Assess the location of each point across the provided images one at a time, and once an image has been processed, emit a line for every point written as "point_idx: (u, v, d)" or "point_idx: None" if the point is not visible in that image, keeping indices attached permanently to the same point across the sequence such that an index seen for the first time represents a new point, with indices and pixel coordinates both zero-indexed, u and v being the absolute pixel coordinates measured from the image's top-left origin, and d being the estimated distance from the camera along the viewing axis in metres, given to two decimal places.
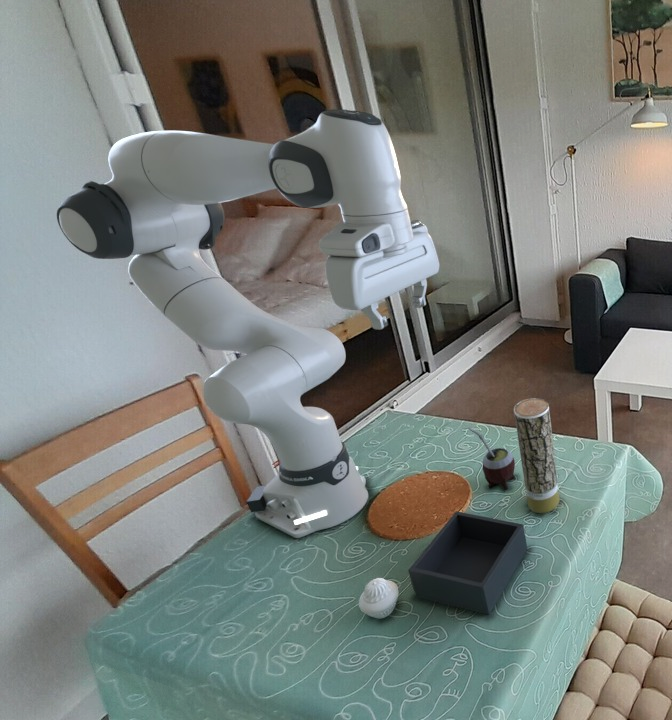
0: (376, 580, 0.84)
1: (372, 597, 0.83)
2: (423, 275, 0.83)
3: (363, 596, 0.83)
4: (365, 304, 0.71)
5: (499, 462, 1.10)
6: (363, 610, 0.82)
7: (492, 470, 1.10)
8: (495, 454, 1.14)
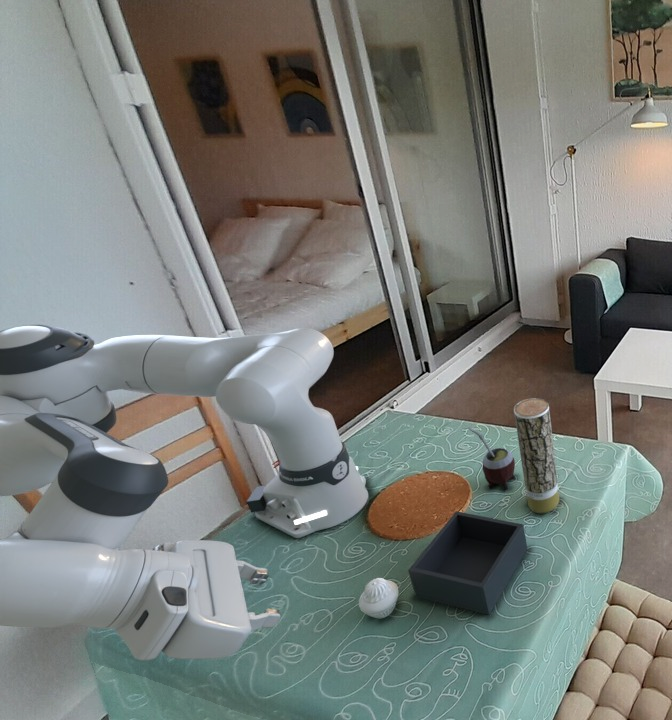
0: (376, 580, 0.84)
1: (372, 597, 0.83)
2: (232, 560, 0.73)
3: (363, 596, 0.83)
4: (247, 622, 0.64)
5: (499, 462, 1.10)
6: (363, 610, 0.82)
7: (492, 470, 1.10)
8: (495, 454, 1.14)
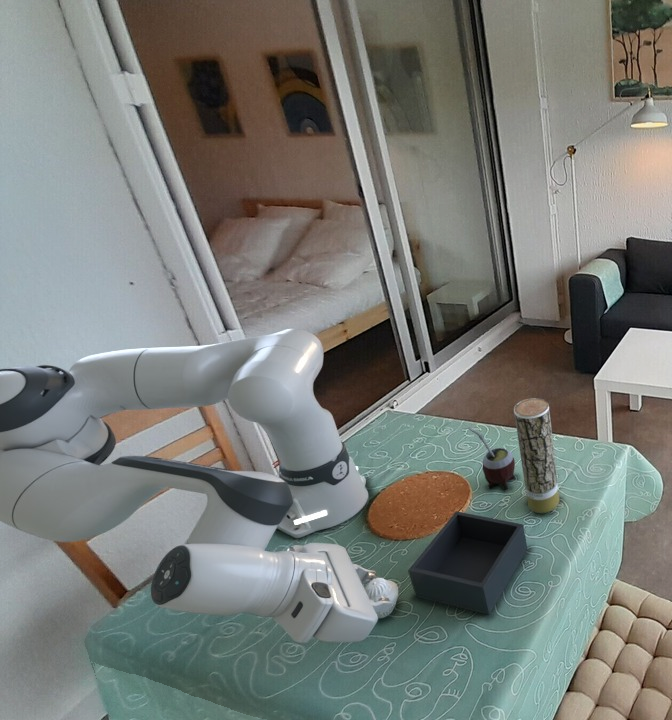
0: (376, 580, 0.84)
1: (372, 597, 0.83)
2: (348, 560, 0.85)
3: None
4: (374, 612, 0.76)
5: (499, 462, 1.10)
6: None
7: (492, 470, 1.10)
8: (495, 454, 1.14)
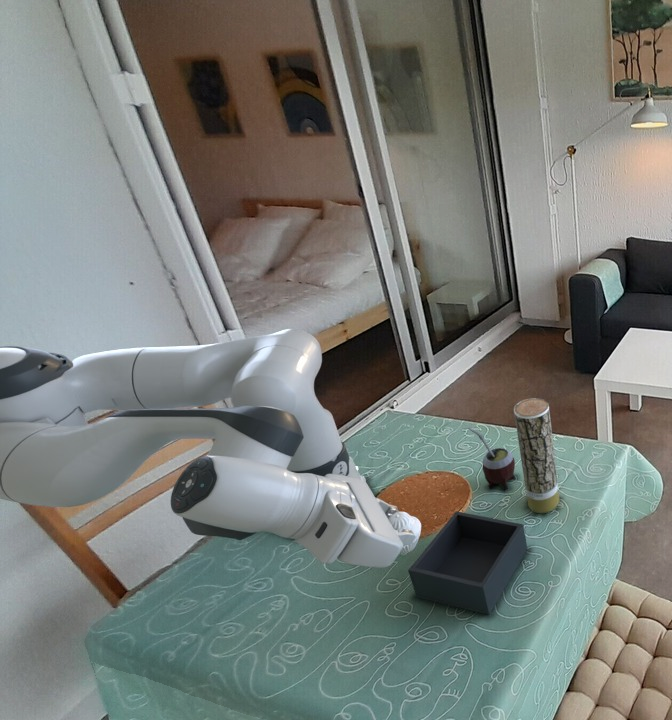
0: (399, 513, 0.82)
1: (395, 529, 0.80)
2: (370, 492, 0.82)
3: None
4: (399, 539, 0.73)
5: (499, 462, 1.10)
6: None
7: (492, 470, 1.10)
8: (495, 454, 1.14)
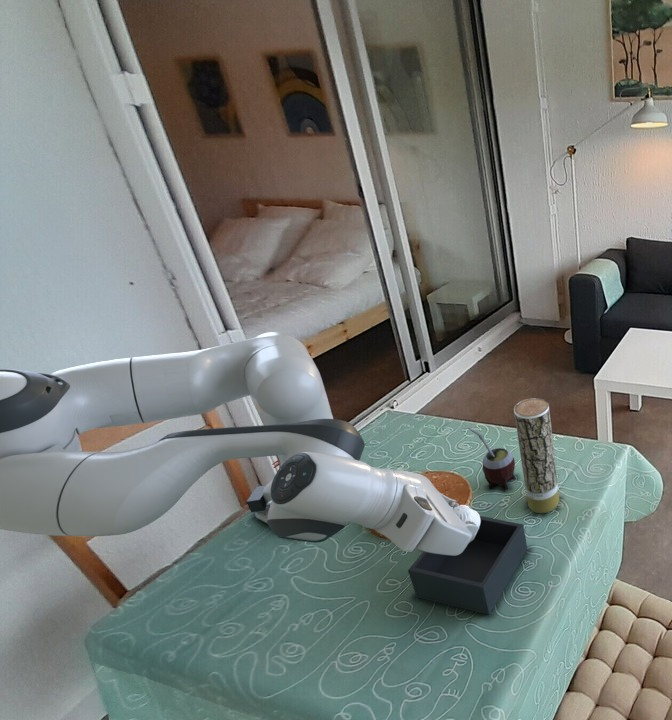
0: (460, 506, 0.87)
1: None
2: (433, 487, 0.88)
3: None
4: (468, 530, 0.79)
5: (499, 462, 1.10)
6: None
7: (492, 470, 1.10)
8: (495, 454, 1.14)
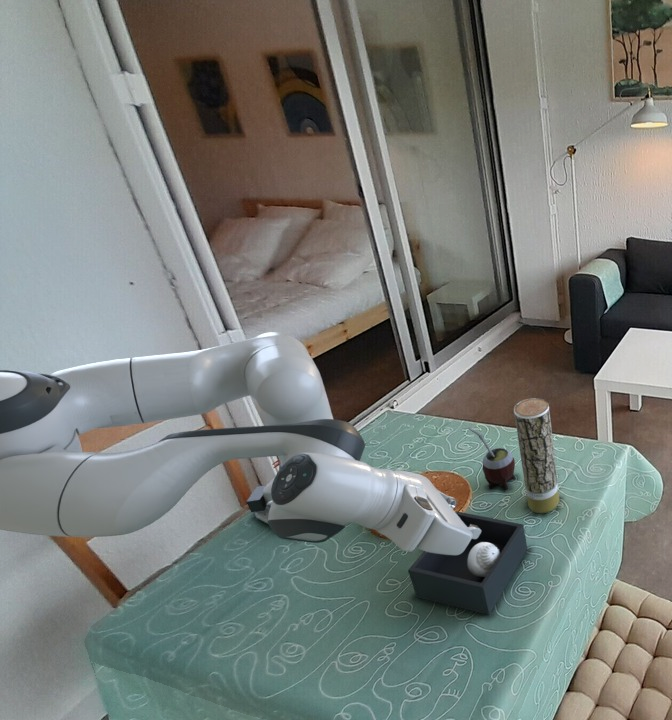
0: (494, 549, 0.89)
1: (488, 565, 0.88)
2: (433, 487, 0.88)
3: (478, 558, 0.88)
4: (468, 529, 0.79)
5: (499, 462, 1.10)
6: (474, 571, 0.88)
7: (492, 470, 1.10)
8: (495, 454, 1.14)
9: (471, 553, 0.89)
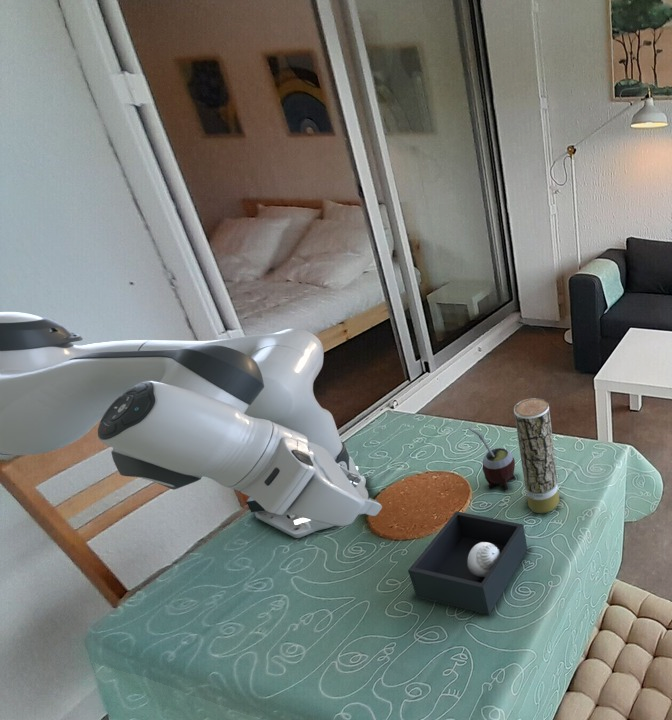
0: (494, 549, 0.89)
1: (488, 565, 0.88)
2: (331, 457, 0.74)
3: (478, 558, 0.88)
4: (361, 497, 0.65)
5: (499, 462, 1.10)
6: (474, 571, 0.88)
7: (492, 470, 1.10)
8: (495, 454, 1.14)
9: (471, 553, 0.89)
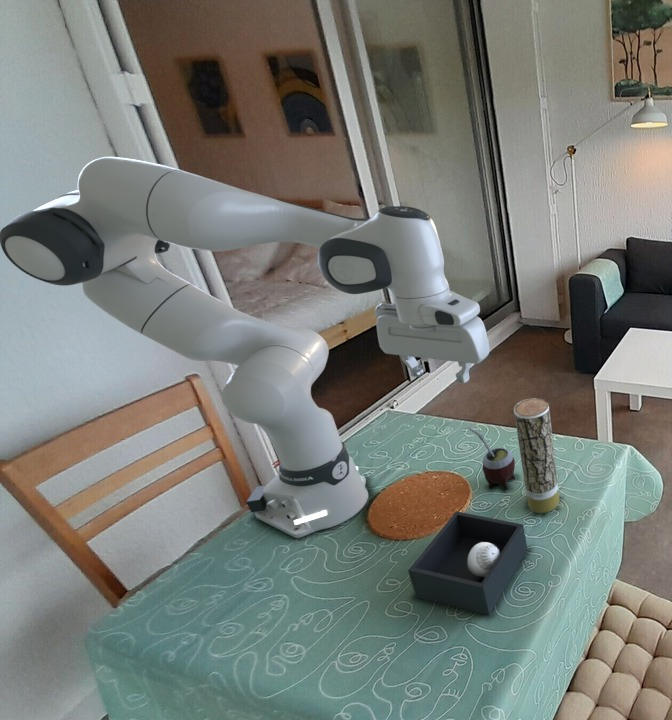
0: (494, 549, 0.89)
1: (488, 565, 0.88)
2: None
3: (478, 558, 0.88)
4: None
5: (499, 462, 1.10)
6: (474, 571, 0.88)
7: (492, 470, 1.10)
8: (495, 454, 1.14)
9: (471, 553, 0.89)
